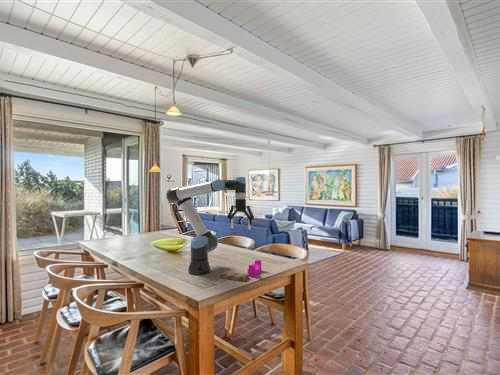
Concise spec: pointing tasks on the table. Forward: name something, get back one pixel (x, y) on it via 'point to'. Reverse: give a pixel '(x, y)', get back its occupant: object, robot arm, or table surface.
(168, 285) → the table surface
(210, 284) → the table surface
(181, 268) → the table surface
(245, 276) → the brown flat bar
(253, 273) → the toy block
